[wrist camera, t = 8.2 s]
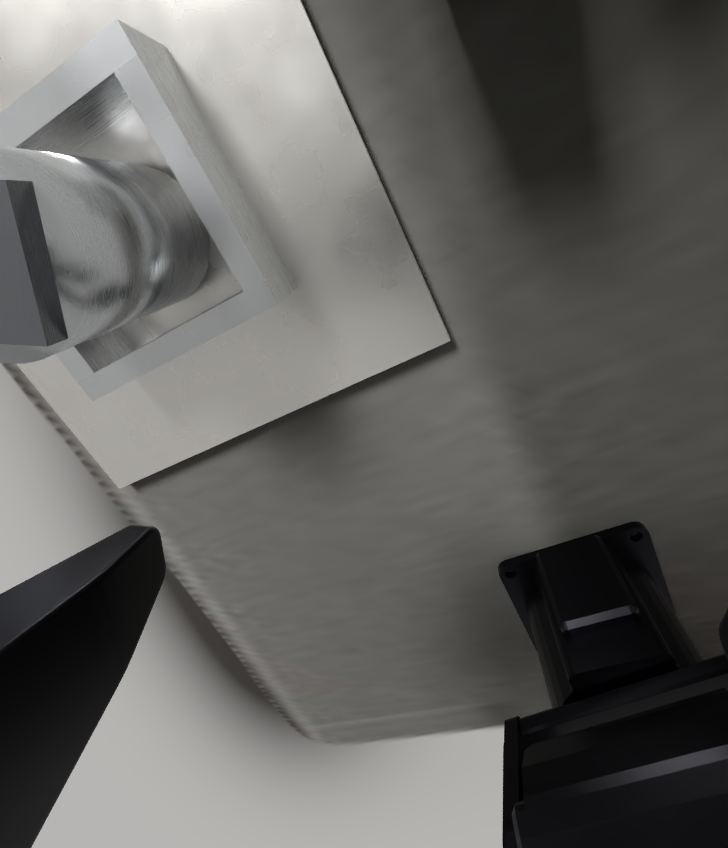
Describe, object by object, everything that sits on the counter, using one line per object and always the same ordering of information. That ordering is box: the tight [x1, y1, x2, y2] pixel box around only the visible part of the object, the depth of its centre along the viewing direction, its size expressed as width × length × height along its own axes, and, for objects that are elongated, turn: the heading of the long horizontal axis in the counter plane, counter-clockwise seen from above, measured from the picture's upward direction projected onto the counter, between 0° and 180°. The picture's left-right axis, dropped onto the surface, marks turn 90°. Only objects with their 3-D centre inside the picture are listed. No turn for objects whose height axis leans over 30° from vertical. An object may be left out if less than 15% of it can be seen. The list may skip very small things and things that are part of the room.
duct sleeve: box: [0, 146, 210, 364], centre depth 13 cm, size 5×5×8 cm
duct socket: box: [0, 0, 451, 489], centre depth 16 cm, size 16×16×3 cm
